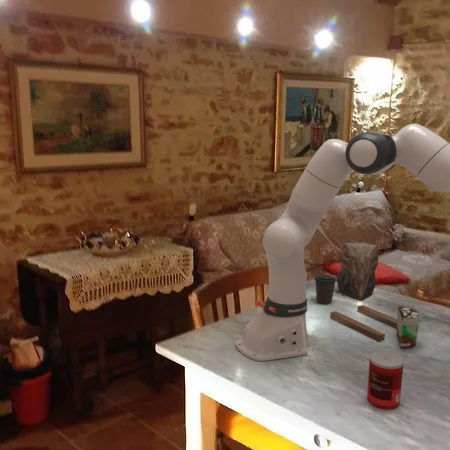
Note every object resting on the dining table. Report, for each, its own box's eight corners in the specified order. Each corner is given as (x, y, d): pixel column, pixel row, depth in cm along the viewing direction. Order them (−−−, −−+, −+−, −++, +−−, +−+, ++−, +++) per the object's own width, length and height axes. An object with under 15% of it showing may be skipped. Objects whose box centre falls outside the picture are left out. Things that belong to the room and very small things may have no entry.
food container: (422, 352, 152) (425, 320, 150) (400, 350, 153) (403, 318, 151) (416, 335, 164) (418, 305, 162) (395, 334, 165) (398, 304, 163)
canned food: (393, 392, 130) (396, 351, 127) (405, 409, 122) (408, 366, 120) (362, 392, 129) (365, 351, 127) (372, 410, 121) (375, 366, 119)
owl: (334, 292, 203) (336, 242, 199) (355, 286, 211) (358, 238, 207) (360, 301, 194) (363, 249, 189) (381, 295, 201) (385, 244, 197)
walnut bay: (378, 341, 159) (379, 335, 158) (330, 317, 177) (330, 312, 177) (412, 332, 166) (412, 326, 166) (362, 310, 185) (362, 304, 184)
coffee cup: (322, 297, 198) (324, 271, 196) (339, 302, 192) (341, 276, 190) (308, 301, 193) (309, 275, 191) (325, 307, 187) (326, 281, 185)
